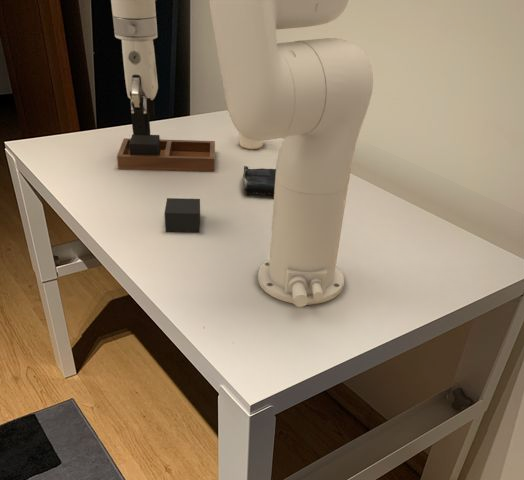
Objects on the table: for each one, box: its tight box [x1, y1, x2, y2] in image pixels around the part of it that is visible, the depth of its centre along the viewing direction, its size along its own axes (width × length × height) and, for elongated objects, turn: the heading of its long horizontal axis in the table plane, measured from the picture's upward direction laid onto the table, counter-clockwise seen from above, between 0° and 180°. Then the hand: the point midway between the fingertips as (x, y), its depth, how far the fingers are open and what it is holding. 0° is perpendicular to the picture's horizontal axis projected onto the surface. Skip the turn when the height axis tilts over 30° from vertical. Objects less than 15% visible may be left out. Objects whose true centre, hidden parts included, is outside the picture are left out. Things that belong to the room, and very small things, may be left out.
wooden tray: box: [116, 137, 216, 172], centre depth 114 cm, size 10×19×3 cm, turn 93°
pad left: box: [129, 133, 161, 156], centre depth 112 cm, size 6×6×4 cm
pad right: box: [164, 197, 201, 234], centre depth 92 cm, size 6×6×4 cm
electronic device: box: [242, 165, 276, 196], centre depth 105 cm, size 9×6×15 cm
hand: (144, 126), depth 109 cm, fingers open, 9 cm apart
